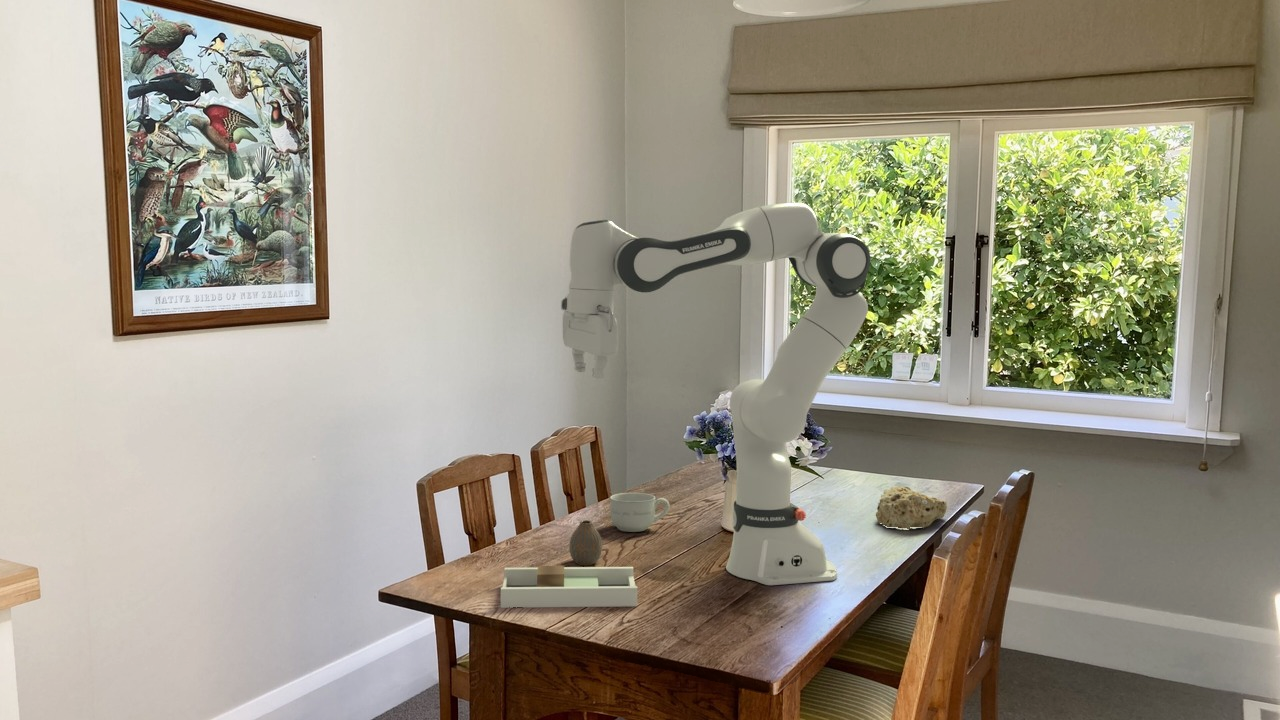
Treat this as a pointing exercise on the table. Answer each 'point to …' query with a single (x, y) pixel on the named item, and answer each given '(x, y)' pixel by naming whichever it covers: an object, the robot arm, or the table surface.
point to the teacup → (635, 511)
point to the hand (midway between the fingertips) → (588, 374)
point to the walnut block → (550, 576)
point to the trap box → (571, 588)
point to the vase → (585, 544)
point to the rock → (908, 508)
